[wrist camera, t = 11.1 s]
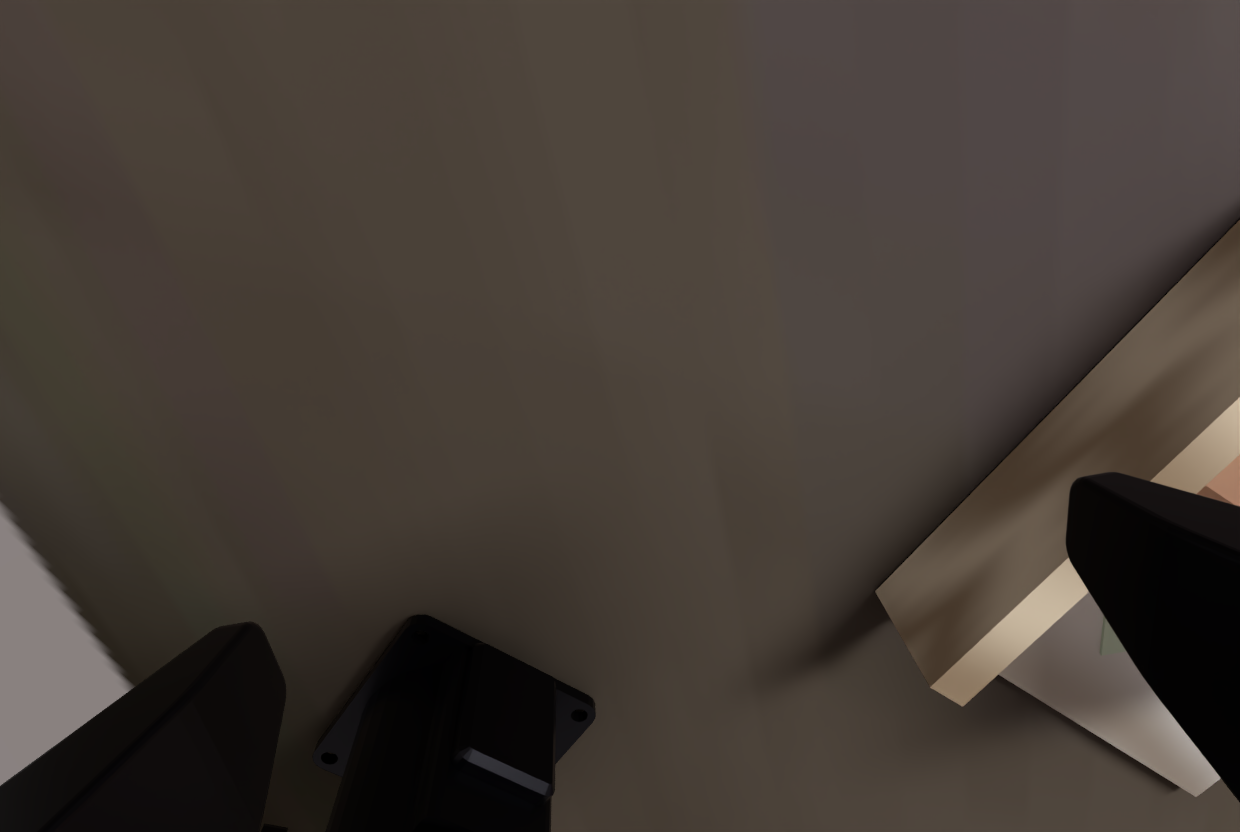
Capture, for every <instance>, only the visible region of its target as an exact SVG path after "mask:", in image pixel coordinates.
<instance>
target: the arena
mask: <svg viewBox="0 0 1240 832" xmlns="http://www.w3.org/2000/svg"><path fill="white" fill-rule="evenodd" d="M1239 455H1240V220H1239V221H1238V222H1237V223H1236V224H1235V225H1234V226H1233V227H1232V228H1231V229H1230V230H1229V231H1228V232H1227V233H1226V234H1225V235H1224V236H1223V237H1222V238H1221V239H1220V240H1219V241H1218V242H1217V243H1216V244H1215V245H1214V246H1213V247H1212V248H1211V249H1210V250H1209V251H1208V252H1207V254H1206V255H1205V256H1204V257H1203V258H1202V259H1201V260H1200V261H1199V262H1198V263H1197V264H1196V265H1195V266H1194V267H1193V268H1192V269H1191V270H1190V271H1189V272H1188V273H1187V274H1186V275H1185V276H1184V277H1183V278H1182V279H1181V280H1180V281H1179V282H1178V283H1177V284H1176V285H1175V286H1174V287H1173V288H1172V289H1171V290H1170V291H1169V292H1168V293H1167V294H1166V295H1165V296H1164V297H1163V298H1162V299H1161V300H1160V301H1159V302H1158V303H1157V304H1156V305H1155V307H1154V308H1153V309H1152V310H1151V311H1150V312H1149V313H1148V314H1147V315H1146V316H1145V317H1144V318H1143V319H1142V320H1141V321H1140V322H1139V323H1138V324H1137V325H1136V326H1135V327H1134V328H1133V329H1132V330H1131V331H1130V332H1129V333H1128V334H1127V335H1126V336H1125V337H1124V338H1123V339H1122V340H1121V341H1120V342H1119V343H1118V344H1117V345H1116V346H1115V347H1114V348H1113V349H1112V350H1111V351H1110V352H1109V353H1108V354H1107V355H1106V356H1105V357H1104V358H1103V360H1102V361H1101V362H1100V363H1099V364H1098V365H1097V366H1096V367H1095V368H1094V369H1093V370H1092V371H1091V372H1090V373H1089V374H1088V375H1087V376H1086V377H1085V378H1084V379H1083V380H1082V381H1081V382H1080V383H1079V384H1078V385H1077V386H1076V387H1075V388H1074V389H1073V390H1072V391H1071V392H1070V393H1069V394H1068V395H1067V396H1066V397H1065V398H1064V399H1063V400H1062V401H1061V402H1060V403H1059V404H1058V405H1057V406H1056V407H1055V408H1054V409H1053V410H1052V411H1051V412H1050V414H1049V415H1048V416H1047V417H1046V418H1045V419H1044V420H1043V421H1042V422H1041V423H1040V424H1039V425H1038V426H1037V427H1036V428H1035V429H1034V430H1033V431H1032V432H1031V433H1030V434H1029V435H1028V436H1027V437H1026V438H1025V439H1024V440H1023V441H1022V442H1021V443H1020V444H1019V445H1018V446H1017V447H1016V448H1015V449H1014V450H1013V451H1012V452H1011V453H1010V454H1009V455H1008V456H1007V457H1006V458H1005V459H1004V460H1003V461H1002V462H1001V463H1000V464H999V465H998V467H997V468H996V469H995V470H994V471H993V472H992V473H991V474H990V475H989V476H988V477H987V478H986V479H985V480H984V481H983V482H982V483H981V484H980V485H979V486H978V487H977V488H976V489H975V490H974V491H973V492H972V493H971V494H970V495H969V496H968V497H967V498H966V499H965V500H964V501H963V502H962V503H961V504H960V505H959V506H958V507H957V508H956V509H955V510H954V511H953V512H952V513H951V514H950V515H949V516H948V517H947V518H946V520H945V521H944V522H943V523H942V524H941V525H940V526H939V527H938V528H937V529H936V530H935V531H934V532H933V533H932V534H931V535H930V536H929V537H928V538H927V539H926V540H925V541H924V542H923V543H922V544H921V545H920V546H919V547H918V548H917V549H916V550H915V551H914V552H913V553H912V554H911V555H910V556H909V557H908V558H907V559H906V560H905V561H904V562H903V563H902V564H901V565H900V566H899V567H898V568H897V569H896V570H895V571H894V573H893V574H892V575H891V576H890V577H889V578H888V579H887V580H886V581H885V582H884V583H883V584H882V585H881V586H880V587H879V588H878V589H877V590H876V591H875V592H876V594H877V596H878V598H879V599H880V601H881V603H882V604H883V606H884V608H885V610H886V611H887V613H888V615H889V617H890V618H891V620H892V622H893V624H894V625H895V627H896V629H897V631H898V632H899V634H900V636H901V638H902V639H903V641H904V643H905V645H906V646H907V648H908V650H909V652H910V653H911V655H912V657H913V658H914V660H915V662H916V664H917V665H918V667H919V669H920V671H921V672H922V674H923V676H924V678H925V679H926V681H927V683H928V685H929V686H930V688H932V689H934V690H935V691H937V692H939V693H940V694H942V695H944V696H946V697H947V698H949V699H951V700H952V701H954V702H956V703H957V704H959V705H961V706H962V707H963V706H964V705H965V704H966V703H967V702H969V701H970V700H971V699H972V698H973V697H974V696H975V695H976V694H977V693H978V692H979V691H981V690H982V689H983V688H984V687H985V686H986V685H987V684H988V683H989V682H990V681H992V680H993V679H994V678H995V677H996V676H997V675H1000V676H1002V677H1003V678H1005V679H1006V680H1008V681H1010V682H1011V683H1013V684H1015V685H1016V686H1018V687H1019V688H1021V689H1023V690H1024V691H1026V692H1027V693H1029V694H1031V695H1032V696H1034V697H1035V698H1037V699H1039V700H1040V701H1042V702H1044V703H1045V704H1047V705H1048V706H1050V707H1052V708H1053V709H1055V710H1056V711H1058V712H1060V713H1061V714H1063V715H1065V716H1066V717H1068V718H1069V719H1071V720H1073V721H1074V722H1076V723H1077V724H1079V725H1081V726H1082V727H1084V728H1086V729H1087V730H1089V731H1090V732H1092V733H1094V734H1095V735H1097V736H1098V737H1100V738H1102V739H1103V740H1105V741H1107V742H1108V743H1110V744H1111V745H1113V746H1115V747H1116V748H1118V749H1119V750H1121V751H1123V752H1124V753H1126V754H1128V755H1129V756H1131V757H1132V758H1134V759H1136V760H1137V761H1139V762H1140V763H1142V764H1144V765H1145V766H1147V767H1149V768H1150V769H1152V770H1153V771H1155V772H1157V773H1158V774H1160V775H1161V776H1163V777H1165V778H1166V779H1168V780H1169V781H1171V782H1173V783H1174V784H1176V785H1178V786H1179V787H1181V788H1182V789H1184V790H1186V791H1187V792H1189V793H1190V794H1192V795H1194V796H1195V797H1197V796H1198V795H1200V794H1201V793H1202V792H1204V791H1205V790H1206V789H1207V788H1209V787H1210V786H1211V785H1213V784H1214V783H1215V782H1217V781H1218V780H1219V779H1220V777H1219V775H1218V774H1217V773H1216V771H1215V770H1214V769H1213V768H1212V766H1211V765H1210V764H1209V762H1208V761H1207V760H1206V759H1205V757H1204V756H1203V755H1202V753H1201V752H1200V751H1199V750H1198V748H1197V747H1196V746H1195V745H1194V743H1193V742H1192V741H1191V739H1190V738H1189V737H1188V736H1187V734H1186V733H1185V732H1184V730H1183V729H1182V728H1181V727H1180V725H1179V724H1178V723H1177V721H1176V720H1175V719H1174V718H1173V716H1172V715H1171V714H1170V713H1169V711H1168V710H1167V709H1166V707H1165V706H1164V705H1163V704H1162V702H1161V701H1160V700H1159V698H1158V697H1157V696H1156V694H1155V693H1154V692H1153V690H1152V689H1151V688H1150V686H1149V685H1148V684H1147V682H1146V681H1145V679H1144V678H1143V676H1142V675H1141V673H1140V672H1139V670H1138V669H1137V667H1136V666H1135V665H1134V663H1133V662H1132V660H1131V658H1130V657H1129V655H1128V654H1127V652H1126V650H1125V649H1124V647H1123V646H1122V644H1121V642H1120V641H1119V639H1118V638H1117V636H1116V634H1115V633H1114V631H1113V630H1112V628H1111V626H1110V625H1109V623H1108V622H1107V620H1106V618H1105V617H1104V615H1103V614H1102V612H1101V610H1100V609H1099V607H1098V606H1097V604H1096V602H1095V601H1094V599H1093V598H1092V596H1091V594H1090V593H1089V591H1088V590H1087V588H1086V586H1085V585H1084V583H1083V582H1082V580H1081V578H1080V577H1079V575H1078V574H1077V572H1076V570H1075V569H1074V567H1073V565H1072V564H1071V562H1070V559H1069V557H1068V554H1067V550H1066V528H1067V515H1068V503H1069V492H1070V487H1071V485H1072V483H1073V482H1074V481H1075V480H1076V479H1077V478H1079V477H1083V476H1088V475H1094V474H1100V473H1105V472H1119V473H1122V474H1126V475H1130V476H1133V477H1137V478H1140V479H1144V480H1148V481H1151V482H1155V483H1158V484H1162V485H1165V486H1169V487H1173V488H1176V489H1180V490H1183V491H1187V492H1190V493H1194V494H1197V493H1198V492H1199V491H1200V490H1201V489H1202V488H1203V487H1205V486H1206V485H1207V484H1208V483H1209V482H1210V481H1211V480H1212V479H1213V478H1214V477H1216V476H1217V475H1218V474H1219V473H1220V472H1221V471H1222V470H1223V469H1224V468H1225V467H1226V466H1228V465H1229V464H1230V463H1231V462H1232V461H1233V460H1234V459H1235V458H1236V457H1237V456H1239Z"/></svg>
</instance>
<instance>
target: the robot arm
mask: <svg viewBox="0 0 1240 832" xmlns="http://www.w3.org/2000/svg"><path fill="white" fill-rule="evenodd" d="M1066 550H1067V554H1068V557H1069V559H1070V562H1071V564H1072V565H1073V567H1074V569H1075V570H1076V572H1077V574H1078V575H1079V577H1080V578H1081V580H1082V582H1083V583H1084V585H1085V586H1086V588H1087V590H1088V591H1089V593H1090V594H1091V596H1092V598H1093V599H1094V601H1095V602H1096V604H1097V606H1098V607H1099V609H1100V610H1101V612H1102V614H1103V615H1104V617H1105V618H1106V620H1107V622H1108V623H1109V625H1110V626H1111V628H1112V630H1113V631H1114V633H1115V634H1116V636H1117V638H1118V639H1119V641H1120V642H1121V644H1122V646H1123V647H1124V649H1125V650H1126V652H1127V654H1128V655H1129V657H1130V658H1131V660H1132V662H1133V663H1134V665H1135V666H1136V667H1137V669H1138V670H1139V672H1140V673H1141V675H1142V676H1143V678H1144V679H1145V681H1146V682H1147V684H1148V685H1149V686H1150V688H1151V689H1152V690H1153V692H1154V693H1155V694H1156V696H1157V697H1158V698H1159V700H1160V701H1161V702H1162V704H1163V705H1164V706H1165V707H1166V709H1167V710H1168V711H1169V713H1170V714H1171V715H1172V716H1173V718H1174V719H1175V720H1176V721H1177V723H1178V724H1179V725H1180V727H1181V728H1182V729H1183V730H1184V732H1185V733H1186V734H1187V736H1188V737H1189V738H1190V739H1191V741H1192V742H1193V743H1194V745H1195V746H1196V747H1197V748H1198V750H1199V751H1200V752H1201V753H1202V755H1203V756H1204V757H1205V759H1206V760H1207V761H1208V762H1209V764H1210V765H1211V766H1212V768H1213V769H1214V770H1215V771H1216V773H1217V774H1218V775H1219V777H1220V778H1221V779H1222V780H1223V782H1224V783H1225V784H1226V785H1227V787H1228V788H1229V789H1230V791H1231V792H1232V793H1233V794H1234V796H1235V797H1236V798H1237V800H1238V801H1239V802H1240V506H1237V505H1233V504H1230V503H1226V502H1223V501H1219V500H1215V499H1212V498H1208V497H1205V496H1201V495H1198V494H1194V493H1190V492H1187V491H1183V490H1180V489H1176V488H1173V487H1169V486H1165V485H1162V484H1158V483H1155V482H1151V481H1148V480H1144V479H1140V478H1137V477H1133V476H1130V475H1126V474H1122V473H1119V472H1105V473H1100V474H1094V475H1088V476H1083V477H1079V478H1077V479H1076V480H1075V481H1074V482H1073V483H1072V485H1071V487H1070V492H1069V503H1068V515H1067V528H1066ZM419 630H422V631H425V632H426V633H428V635H423V636H422V635H418V634H417V633H416V632H415V631H419ZM285 701H286V684H285V680H284V676H283V674H282V671H281V669H280V667H279V665H278V662H277V660H276V658H275V656H274V653H273V651H272V649H271V647H270V644H269V642H268V640H267V638H266V635H265V633H264V631H263V630H262V628H261V627H260V626H259V625H258V624H256V623H254V622H244V623H238V624H232V625H226V626H221V627H218V628H215V629H214V630H212V631H211V632H209V633H208V634H207V635H205V636H204V637H203V638H201V639H200V640H199V641H197V642H196V643H194V644H193V645H192V646H190V647H189V648H188V649H186V650H185V651H184V652H182V653H181V654H179V655H178V656H177V657H175V658H174V659H173V660H171V661H170V662H169V663H167V664H166V665H164V666H163V667H162V668H160V669H159V670H158V671H156V672H155V673H154V674H152V675H151V676H149V677H148V678H147V679H145V680H144V681H143V682H141V683H140V684H139V685H137V686H136V687H134V688H133V689H132V690H130V691H129V692H128V693H126V694H125V695H124V696H122V697H121V698H119V699H118V700H117V701H115V702H114V703H113V704H111V705H110V706H109V707H107V708H106V709H104V710H103V711H102V712H100V713H99V714H98V715H96V716H95V717H93V718H92V719H91V720H89V721H88V722H87V723H85V724H84V725H83V726H81V727H80V728H79V729H77V730H76V731H74V732H73V733H72V734H71V735H69V736H68V737H66V738H65V739H64V740H62V741H61V742H60V743H58V744H57V745H55V746H54V747H53V748H51V749H50V750H48V751H47V752H46V753H45V754H43V755H42V756H40V757H39V758H38V759H36V760H35V761H34V762H32V763H31V764H29V765H28V766H27V767H25V768H24V769H23V770H21V771H20V772H18V773H17V774H16V775H14V776H13V777H12V778H10V779H9V780H8V781H6V782H5V783H3V784H2V785H1V786H0V832H259V830H260V826H261V822H262V817H263V813H264V808H265V803H266V798H267V793H268V788H269V783H270V778H271V773H272V768H273V763H274V757H275V752H276V747H277V742H278V737H279V732H280V727H281V722H282V717H283V712H284V706H285ZM577 709H582V710H584V711H583V712H575V710H577ZM594 719H595V702H594V700H593V699H592V698H591V697H590V696H589V695H587V694H585V693H583V692H581V691H579V690H577V689H575V688H573V687H571V686H569V685H567V684H565V683H563V682H561V681H559V680H557V679H555V678H553V677H552V676H550V675H548V674H546V673H544V672H542V671H540V670H538V669H536V668H534V667H532V666H530V665H528V664H526V663H524V662H522V661H520V660H518V659H516V658H514V657H512V656H510V655H508V654H506V653H504V652H502V651H500V650H498V649H496V648H494V647H492V646H490V645H488V644H485V643H483V642H481V641H479V640H477V639H475V638H473V637H471V636H469V635H467V634H465V633H463V632H461V631H459V630H457V629H455V628H453V627H451V626H449V625H447V624H445V623H443V622H441V621H439V620H437V619H435V618H433V617H431V616H428V615H416V616H413V617H411V618H410V619H409V620H408V621H407V622H406V623H405V625H404V626H403V627H402V629H401V630H400V632H399V633H398V634H397V636H396V637H395V638H394V640H393V641H392V642H391V644H390V645H389V646H388V648H387V649H386V650H385V652H384V653H383V655H382V656H381V657H380V659H379V660H378V661H377V663H376V664H375V665H374V667H373V668H372V669H371V671H370V672H369V673H368V675H367V676H366V678H365V679H364V680H363V682H362V683H361V684H360V686H359V687H358V688H357V690H356V691H355V692H354V694H353V695H352V696H351V698H350V699H349V701H348V702H347V703H346V705H345V706H344V707H343V709H342V710H341V711H340V713H339V714H338V715H337V717H336V718H335V719H334V721H333V722H332V724H331V725H330V726H329V728H328V729H327V730H326V732H325V733H324V734H323V736H322V737H321V738H320V740H319V741H318V743H317V746H316V748H315V751H314V754H313V761H314V762H315V764H316V765H317V766H319V767H320V768H322V769H324V770H327V771H329V772H331V773H334V774H336V775H338V776H341V777H342V780H341V784H340V787H339V790H338V793H337V797H336V800H335V803H334V806H333V809H332V813H331V816H330V819H329V822H328V825H327V829H326V832H551V796H552V795H553V794H554V791H555V764H556V763H557V762H558V761H559V760H560V758H561V757H562V756H563V755H564V754H565V753H566V752H567V751H568V749H569V748H570V747H571V746H572V745H573V744H574V743H575V742H576V740H577V739H578V738H579V737H580V736H581V735H582V734H583V733H584V731H585V730H586V729H587V728H588V727H589V726H590V725H591V724H592V723H593V721H594ZM328 752H331V753H334V754H330V753H328ZM287 830H288V828H285V827H280V826H274V825H269V824H264V826H263V828H262V831H261V832H287Z"/></svg>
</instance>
